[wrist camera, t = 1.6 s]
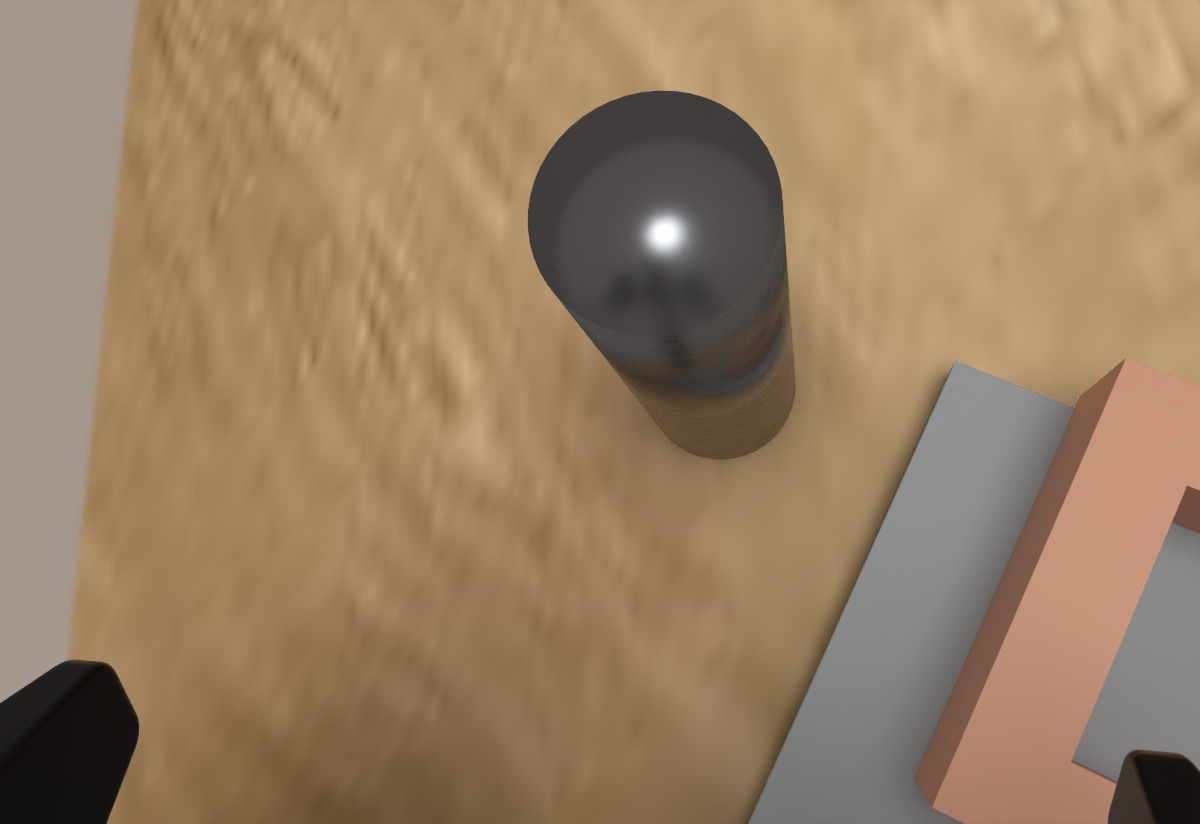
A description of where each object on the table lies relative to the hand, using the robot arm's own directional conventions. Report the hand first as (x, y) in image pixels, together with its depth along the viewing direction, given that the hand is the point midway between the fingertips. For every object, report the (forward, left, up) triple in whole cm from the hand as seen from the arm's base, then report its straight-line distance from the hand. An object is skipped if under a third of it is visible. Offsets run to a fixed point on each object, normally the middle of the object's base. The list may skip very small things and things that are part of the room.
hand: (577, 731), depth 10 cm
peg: (+5, +2, -12) cm, 13 cm away
